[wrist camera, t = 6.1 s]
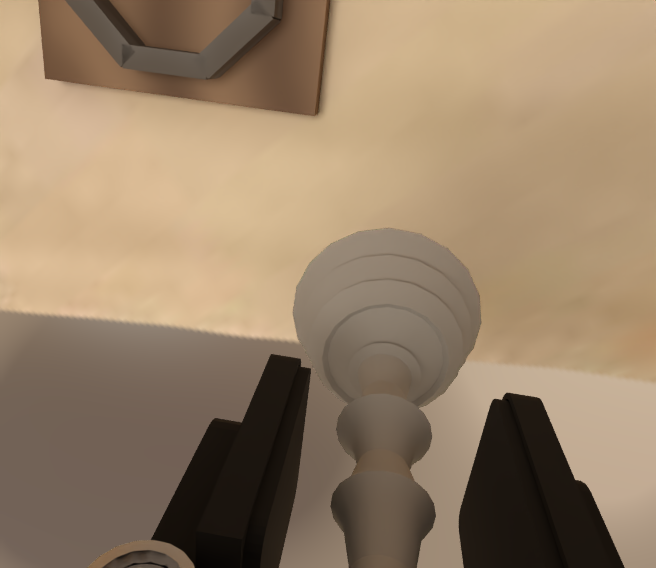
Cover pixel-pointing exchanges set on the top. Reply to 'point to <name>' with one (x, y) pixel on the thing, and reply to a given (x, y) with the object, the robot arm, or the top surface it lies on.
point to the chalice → (385, 374)
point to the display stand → (192, 48)
